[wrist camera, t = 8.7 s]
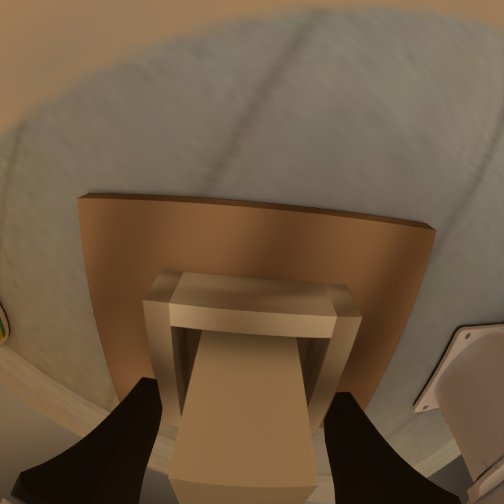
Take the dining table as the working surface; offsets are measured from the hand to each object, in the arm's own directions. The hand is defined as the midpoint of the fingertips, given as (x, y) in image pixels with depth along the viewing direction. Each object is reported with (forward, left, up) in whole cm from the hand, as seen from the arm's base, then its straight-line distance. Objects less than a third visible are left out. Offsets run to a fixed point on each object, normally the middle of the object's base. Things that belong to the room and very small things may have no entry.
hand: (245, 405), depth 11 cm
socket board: (0, 0, -4) cm, 4 cm away
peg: (0, 0, -3) cm, 4 cm away
